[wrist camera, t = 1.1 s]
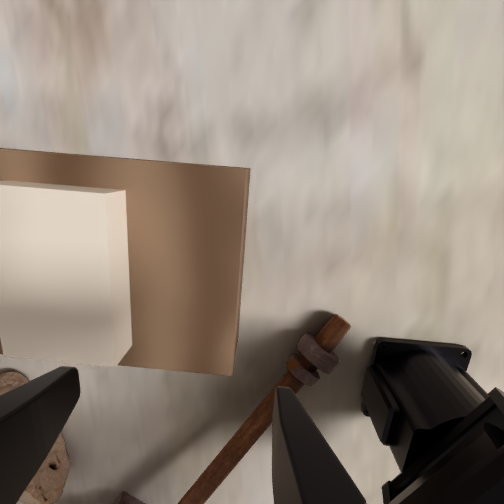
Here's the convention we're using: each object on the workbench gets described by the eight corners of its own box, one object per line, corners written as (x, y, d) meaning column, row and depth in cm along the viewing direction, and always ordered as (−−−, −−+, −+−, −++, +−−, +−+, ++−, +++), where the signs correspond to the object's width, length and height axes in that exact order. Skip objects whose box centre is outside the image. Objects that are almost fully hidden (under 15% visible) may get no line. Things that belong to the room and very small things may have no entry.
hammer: (70, 554, 27) (-22, 750, 17) (286, 271, 25) (322, 307, 15) (133, 586, 28) (80, 789, 18) (345, 315, 26) (415, 376, 16)
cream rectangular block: (125, 190, 15) (104, 193, 13) (132, 345, 17) (115, 367, 15) (8, 180, 15) (-30, 182, 13) (32, 335, 17) (3, 356, 16)
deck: (250, 168, 18) (246, 168, 14) (238, 338, 21) (232, 376, 18) (-4, 147, 18) (-75, 142, 15) (23, 318, 22) (-29, 351, 18)
